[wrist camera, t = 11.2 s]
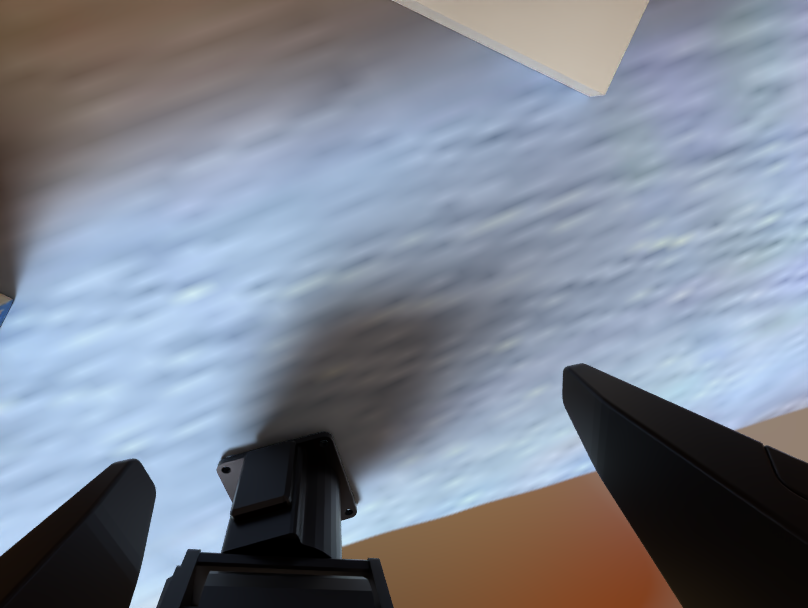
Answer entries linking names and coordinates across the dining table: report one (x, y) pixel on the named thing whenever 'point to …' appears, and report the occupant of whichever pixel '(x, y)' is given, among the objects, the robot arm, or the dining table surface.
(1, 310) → the patterned box
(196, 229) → the dining table surface
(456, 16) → the board
